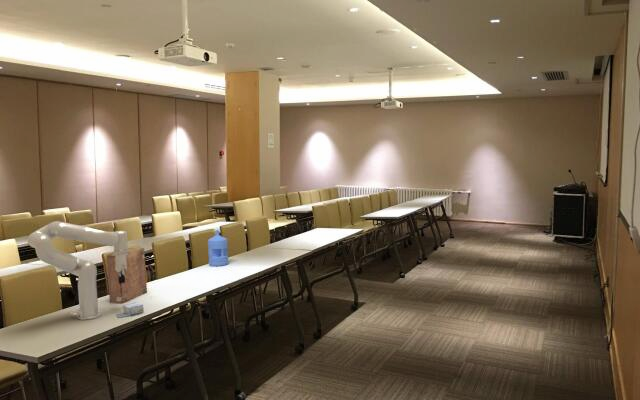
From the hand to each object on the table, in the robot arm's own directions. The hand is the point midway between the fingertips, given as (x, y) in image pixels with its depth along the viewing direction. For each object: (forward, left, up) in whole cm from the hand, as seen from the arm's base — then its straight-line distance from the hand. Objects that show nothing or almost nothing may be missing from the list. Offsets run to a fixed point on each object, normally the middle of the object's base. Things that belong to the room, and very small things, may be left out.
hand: (121, 282), depth 305 cm
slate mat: (0, -15, -15) cm, 21 cm away
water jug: (+90, +82, -16) cm, 123 cm away
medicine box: (+1, -10, -13) cm, 16 cm away
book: (+8, +23, -16) cm, 29 cm away
